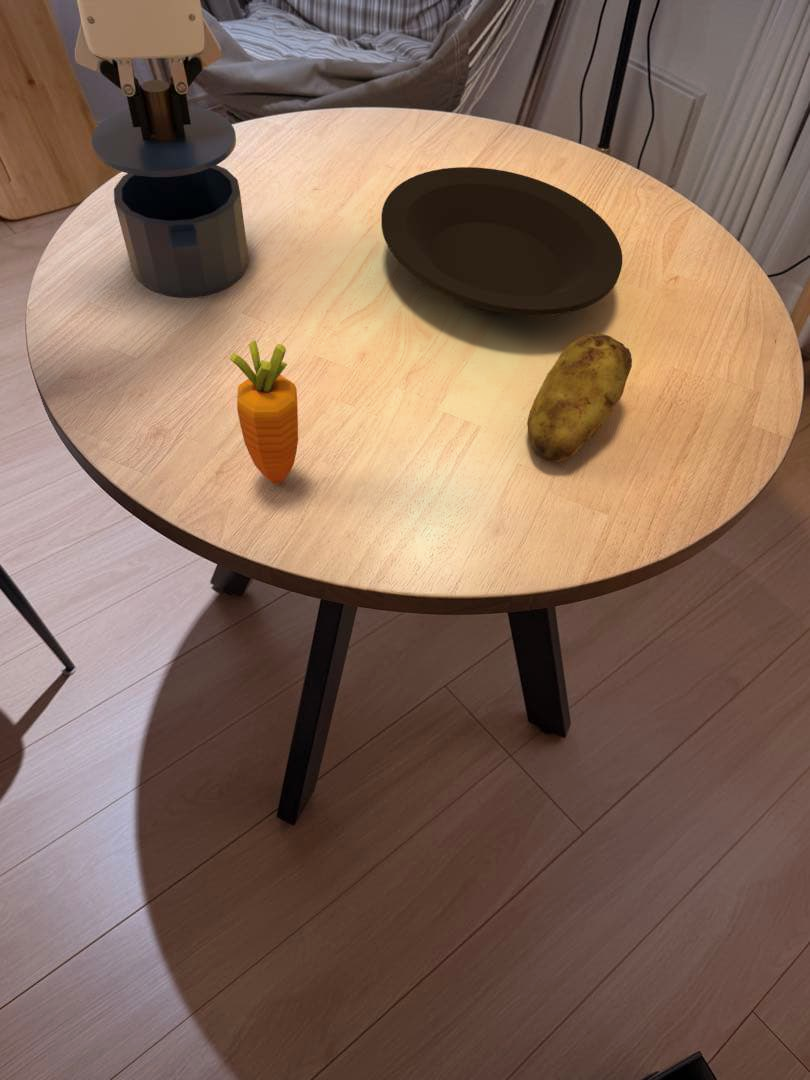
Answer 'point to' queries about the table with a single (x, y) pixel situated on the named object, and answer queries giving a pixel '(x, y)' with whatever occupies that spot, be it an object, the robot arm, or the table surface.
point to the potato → (577, 396)
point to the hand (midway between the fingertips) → (163, 131)
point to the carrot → (268, 413)
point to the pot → (183, 231)
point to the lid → (163, 138)
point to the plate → (501, 241)
